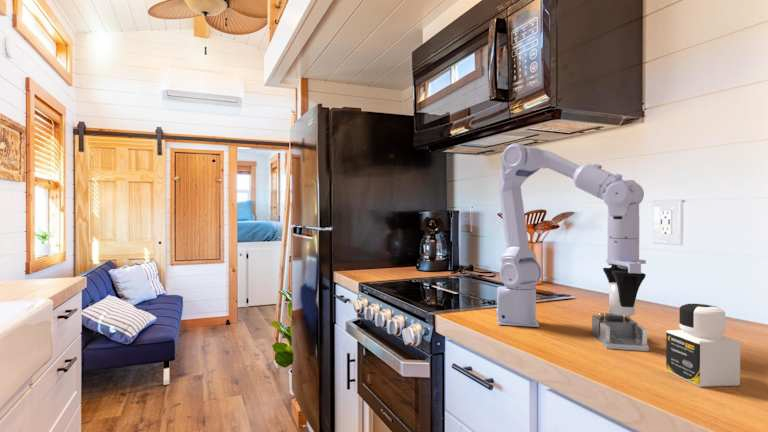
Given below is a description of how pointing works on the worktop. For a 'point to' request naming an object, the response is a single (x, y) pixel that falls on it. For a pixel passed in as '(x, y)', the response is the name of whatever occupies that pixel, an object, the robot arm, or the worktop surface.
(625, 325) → the grey tray
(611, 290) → the white cylinder
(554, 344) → the worktop surface
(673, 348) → the medicine bottle
